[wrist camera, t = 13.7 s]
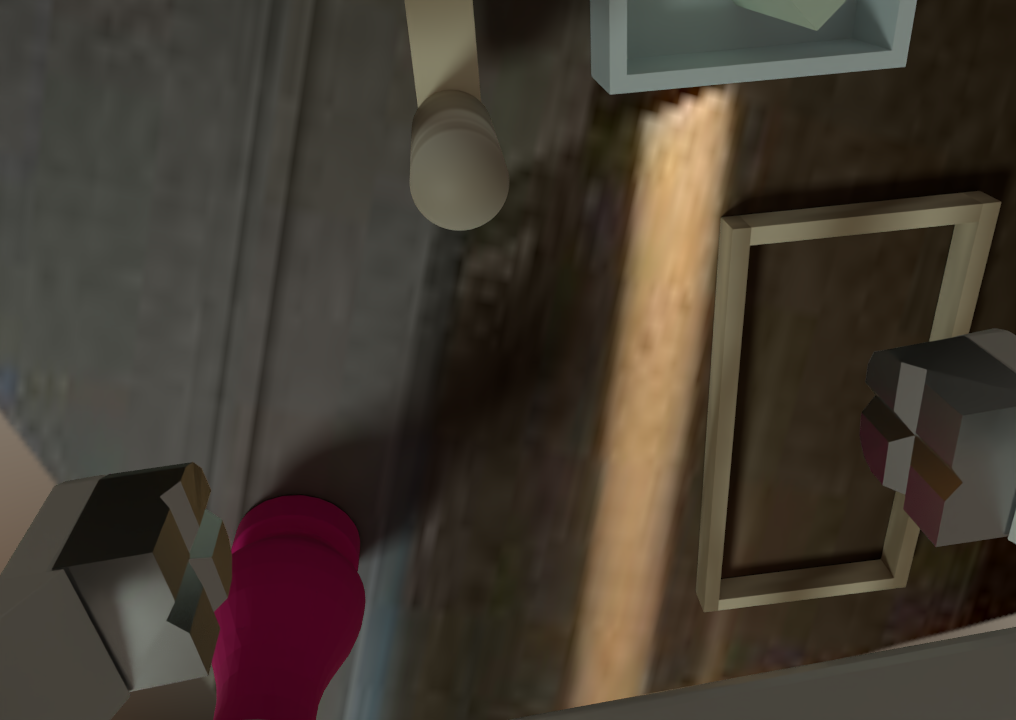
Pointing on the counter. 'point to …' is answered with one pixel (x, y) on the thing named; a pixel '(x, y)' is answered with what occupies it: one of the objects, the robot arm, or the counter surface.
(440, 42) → the crank
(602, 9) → the tray
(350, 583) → the pepper mill
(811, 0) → the block
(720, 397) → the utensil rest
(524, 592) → the counter surface
